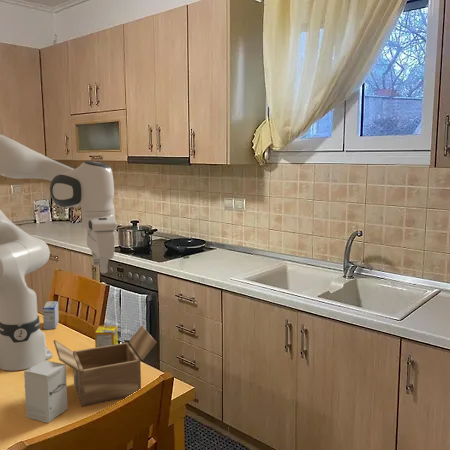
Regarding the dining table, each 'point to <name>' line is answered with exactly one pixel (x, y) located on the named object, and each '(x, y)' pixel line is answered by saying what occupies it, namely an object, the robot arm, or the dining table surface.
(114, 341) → the supplement box
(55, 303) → the medicine box
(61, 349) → the flap
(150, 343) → the flap
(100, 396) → the carton
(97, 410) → the dining table surface
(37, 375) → the supplement box
